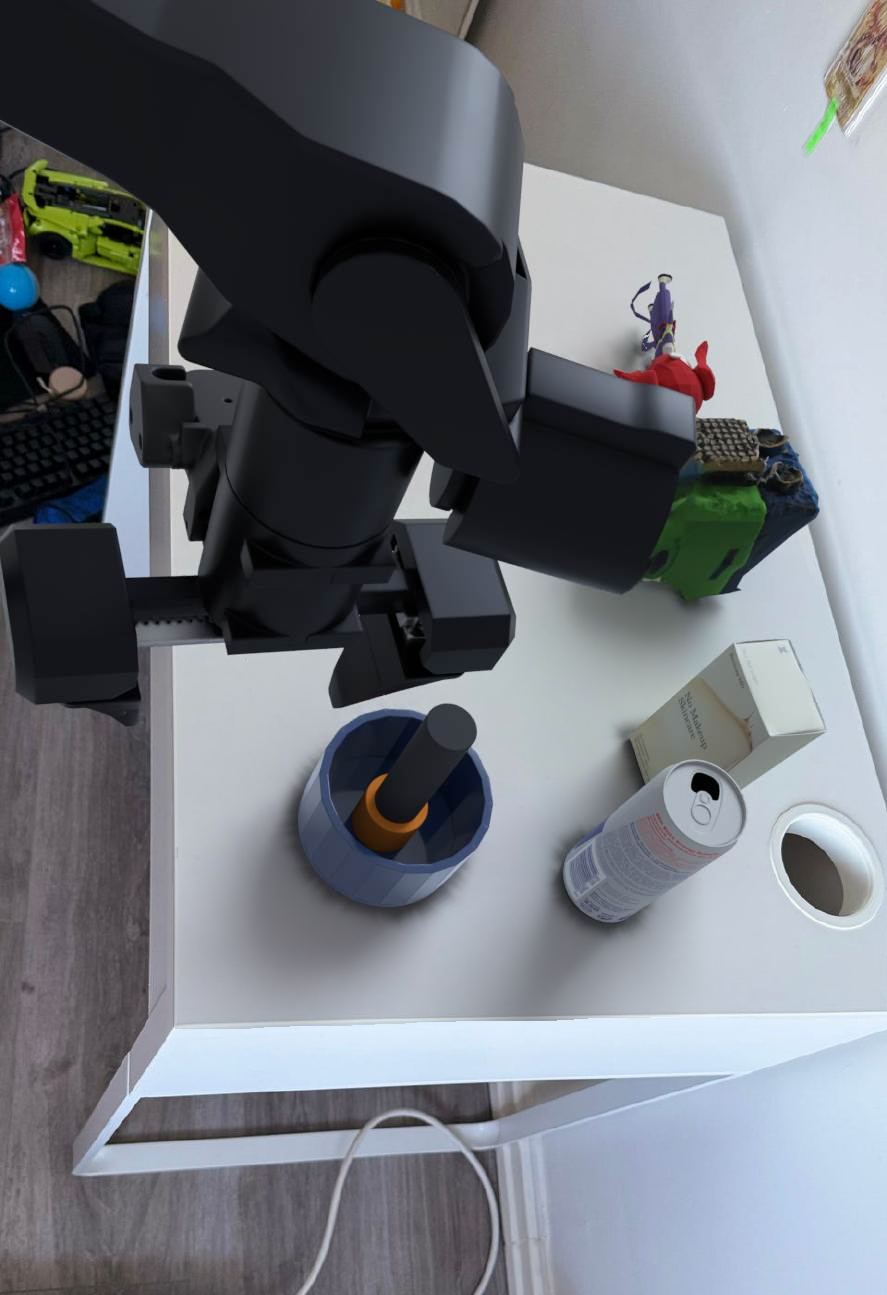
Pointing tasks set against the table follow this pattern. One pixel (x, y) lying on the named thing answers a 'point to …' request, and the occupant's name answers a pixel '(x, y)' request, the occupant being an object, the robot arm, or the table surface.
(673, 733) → the cosmetic box
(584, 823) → the table surface
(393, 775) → the scrub stick
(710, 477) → the sculpture
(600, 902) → the energy drink
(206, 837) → the table surface
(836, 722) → the table surface
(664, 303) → the figurine
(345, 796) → the blue plastic pot
